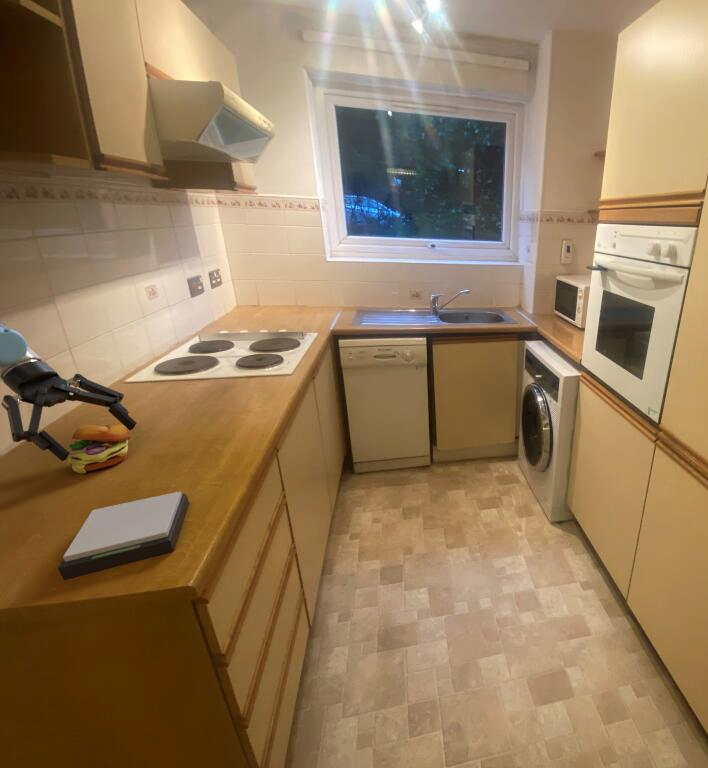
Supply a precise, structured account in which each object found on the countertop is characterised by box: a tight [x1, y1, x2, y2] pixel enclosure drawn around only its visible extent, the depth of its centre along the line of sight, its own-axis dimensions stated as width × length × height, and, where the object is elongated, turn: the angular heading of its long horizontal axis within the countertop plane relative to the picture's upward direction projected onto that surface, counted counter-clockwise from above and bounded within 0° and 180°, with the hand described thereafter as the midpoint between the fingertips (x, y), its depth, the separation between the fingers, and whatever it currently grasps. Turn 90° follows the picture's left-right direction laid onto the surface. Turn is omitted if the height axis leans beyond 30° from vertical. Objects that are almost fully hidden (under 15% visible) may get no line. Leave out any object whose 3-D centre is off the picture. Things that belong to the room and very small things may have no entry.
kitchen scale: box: [57, 491, 190, 580], centre depth 75 cm, size 14×14×3 cm
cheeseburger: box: [67, 423, 133, 475], centre depth 96 cm, size 10×11×10 cm
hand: (101, 441), depth 95 cm, fingers open, 13 cm apart
